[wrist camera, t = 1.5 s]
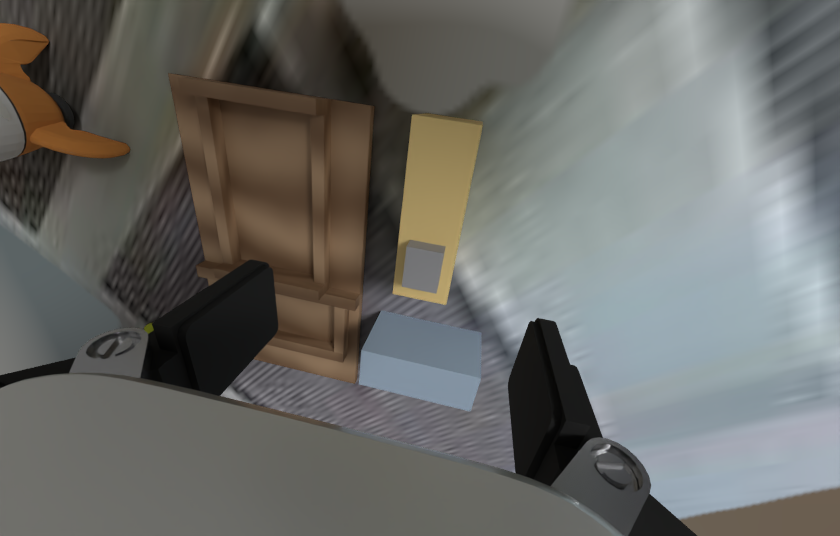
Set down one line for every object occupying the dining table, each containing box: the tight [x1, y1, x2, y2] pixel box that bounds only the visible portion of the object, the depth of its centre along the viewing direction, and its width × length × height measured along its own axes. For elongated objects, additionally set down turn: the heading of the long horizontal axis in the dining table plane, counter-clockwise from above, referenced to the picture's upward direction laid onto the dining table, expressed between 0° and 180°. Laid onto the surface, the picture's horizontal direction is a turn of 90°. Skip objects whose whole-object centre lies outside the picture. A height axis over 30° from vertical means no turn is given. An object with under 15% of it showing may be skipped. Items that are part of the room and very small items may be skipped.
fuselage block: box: [393, 113, 483, 305], centre depth 23 cm, size 12×4×7 cm, turn 172°
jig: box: [168, 73, 375, 384], centre depth 29 cm, size 28×16×3 cm, turn 172°
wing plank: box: [359, 311, 481, 411], centre depth 30 cm, size 4×10×6 cm, turn 82°
